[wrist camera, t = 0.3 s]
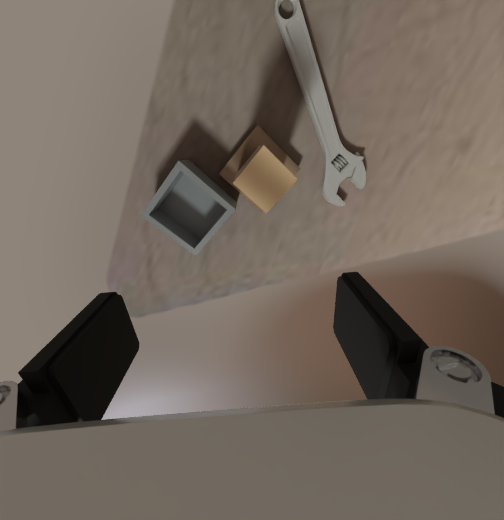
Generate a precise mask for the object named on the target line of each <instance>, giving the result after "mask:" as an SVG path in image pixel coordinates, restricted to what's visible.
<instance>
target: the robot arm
mask: <svg viewBox="0 0 504 520" xmlns="http://www.w3.org/2000/svg"><path fill="white" fill-rule="evenodd" d="M333 328H334V333H335V335H336V337H337V339H338V341H339V343H340V345H341V347H342V349H343V351H344V353H345V355H346V357H347V359H348V361H349V363H350V365H351V367H352V369H353V371H354V373H355V375H356V377H357V379H358V381H359V383H360V385H361V387H362V389H363V391H364V393H365V395H366V397H367V399H368V400H351V401H334V402H319V403H306V404H293V405H279V406H266V407H253V408H240V409H227V410H215V411H204V412H203V411H202V412H190V413H178V414H167V415H154V416H143V417H131V418H119V419H107V420H101V419H102V417H103V415H104V413H105V411H106V410H107V408H108V406H109V404H110V402H111V400H112V398H113V397H114V395H115V393H116V391H117V389H118V387H119V385H120V383H121V382H122V380H123V377H124V376H125V374H126V372H127V370H128V369H129V367H130V365H131V363H132V361H133V359H134V357H135V355H136V354H137V352H138V349H139V341H138V338H137V336H136V333H135V330H134V328H133V325H132V322H131V319H130V317H129V314H128V311H127V309H126V306H125V303H124V301H123V298H122V296H121V295H118V294H117V293H116V292H108V293H100V294H99V295H98V296H96V298H94V299H93V300H92V301H91V302H90V303H89V304H88V305H87V306H86V307H85V308H84V309H83V310H82V311H81V312H80V313H79V314H78V315H77V316H76V317H75V318H74V319H73V320H72V321H71V322H70V323H69V324H68V325H67V326H66V327H65V328H64V329H63V330H61V332H59V333H58V334H57V335H56V336H55V337H54V338H53V339H52V340H51V341H50V342H49V343H48V344H47V345H46V346H45V347H44V348H43V349H42V350H41V351H40V352H39V353H38V354H37V355H36V356H35V357H34V358H33V359H32V360H31V361H30V362H29V363H28V364H27V365H26V366H24V367H23V368H22V370H21V371H19V372H18V373H19V375H20V376H21V377H22V379H23V380H22V381H21V382H20V383H19V384H17V383H16V382H13V381H4V382H0V520H504V387H502V386H500V385H498V384H495V383H493V382H491V379H490V376H489V373H488V371H487V370H486V369H485V367H484V366H483V365H482V364H481V363H479V362H478V361H477V360H476V359H475V358H473V357H471V356H470V355H468V354H466V353H464V352H462V351H459V350H457V349H454V348H450V347H445V346H433V347H428V346H427V345H426V343H425V342H424V341H423V340H422V339H421V338H420V337H419V336H418V335H417V334H416V333H415V332H414V331H413V330H412V328H411V327H410V326H409V325H408V324H407V323H406V322H405V321H404V320H403V319H402V318H401V317H400V316H399V315H398V314H397V313H396V312H395V311H394V310H393V308H392V307H390V305H389V304H388V303H387V302H386V301H385V300H384V299H383V298H382V297H381V296H380V295H379V294H378V293H377V292H376V291H375V290H374V289H373V288H372V287H371V285H369V283H368V282H367V281H366V280H365V279H364V278H363V277H362V276H361V275H360V274H359V273H358V272H348V273H343V274H342V276H341V277H338V280H337V292H336V302H335V314H334V325H333Z"/></svg>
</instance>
